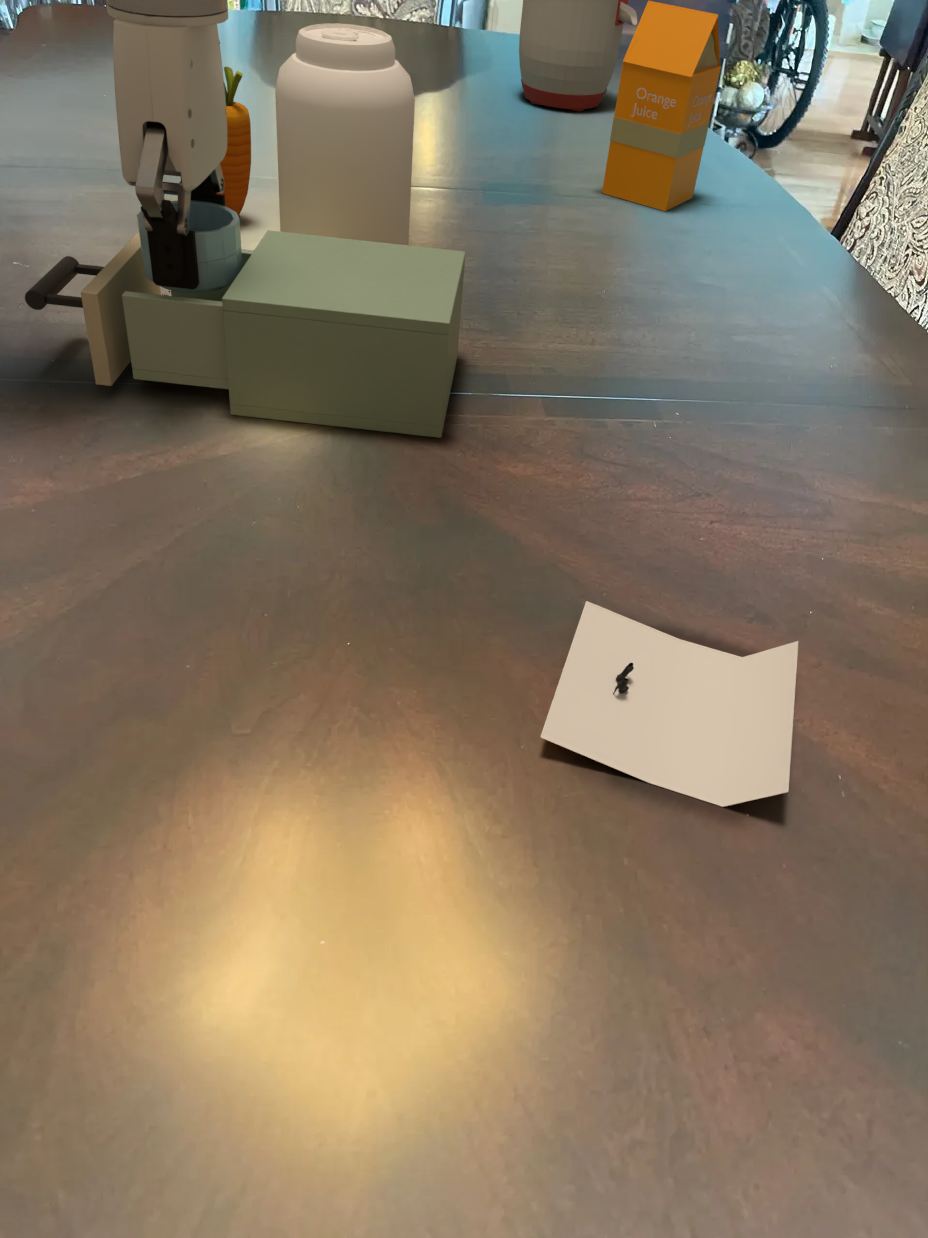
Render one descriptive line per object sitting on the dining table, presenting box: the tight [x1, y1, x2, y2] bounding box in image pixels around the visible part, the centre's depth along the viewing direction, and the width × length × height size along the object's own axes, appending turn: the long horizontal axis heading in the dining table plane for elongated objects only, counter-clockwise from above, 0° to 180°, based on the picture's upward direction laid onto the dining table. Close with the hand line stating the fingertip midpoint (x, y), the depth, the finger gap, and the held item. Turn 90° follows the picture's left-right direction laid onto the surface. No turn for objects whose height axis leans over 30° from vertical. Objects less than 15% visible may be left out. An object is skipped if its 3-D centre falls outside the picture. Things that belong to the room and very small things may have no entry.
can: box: [274, 22, 416, 245], centre depth 94 cm, size 12×12×20 cm
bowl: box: [136, 200, 242, 293], centre depth 75 cm, size 7×7×4 cm
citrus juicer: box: [518, 0, 638, 112], centre depth 150 cm, size 16×17×20 cm
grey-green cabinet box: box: [222, 229, 466, 439], centre depth 78 cm, size 16×14×9 cm
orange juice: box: [601, 0, 722, 212], centre depth 118 cm, size 8×9×20 cm
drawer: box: [24, 231, 255, 390], centre depth 78 cm, size 20×13×7 cm, turn 85°
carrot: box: [217, 66, 252, 218], centre depth 101 cm, size 5×5×15 cm
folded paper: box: [540, 600, 799, 808], centre depth 54 cm, size 12×12×2 cm
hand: (192, 263), depth 76 cm, fingers closed on bowl, 7 cm apart
